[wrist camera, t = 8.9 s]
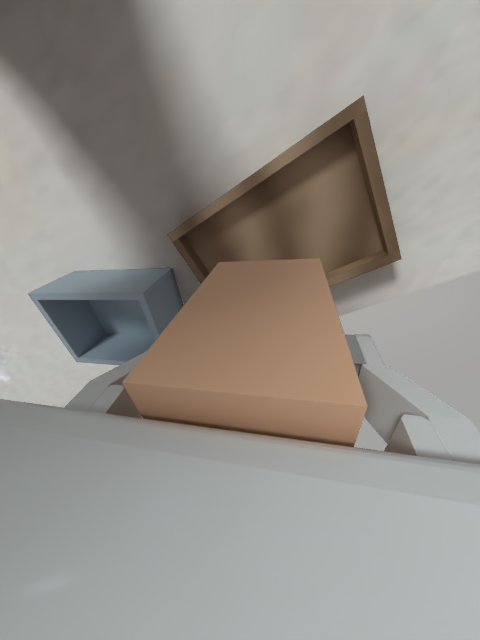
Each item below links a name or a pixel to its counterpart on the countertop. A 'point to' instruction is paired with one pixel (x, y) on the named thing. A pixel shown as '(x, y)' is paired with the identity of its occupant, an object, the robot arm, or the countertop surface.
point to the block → (255, 357)
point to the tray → (303, 207)
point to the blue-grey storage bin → (109, 311)
